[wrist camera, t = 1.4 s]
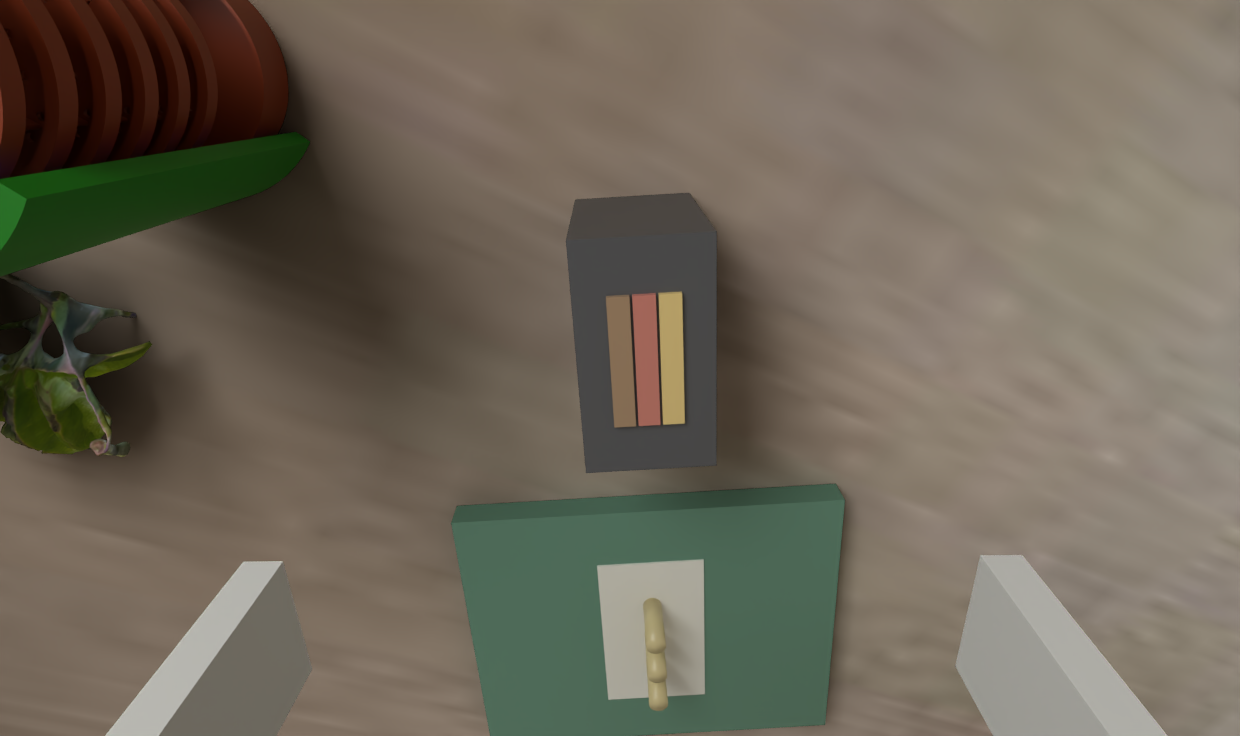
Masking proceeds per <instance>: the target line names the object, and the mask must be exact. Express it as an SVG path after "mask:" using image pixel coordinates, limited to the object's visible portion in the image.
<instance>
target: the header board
mask: <svg viewBox="0 0 1240 736" xmlns="http://www.w3.org/2000/svg"><path fill="white" fill-rule="evenodd" d="M844 504H845V499H844V498H843V496H842V494H841V492H840V490H839V489H838V487H837V485H836V484H823V485H806V486H789V487H772V488H755V489H738V490H721V491H704V492H686V493H669V494H652V495H635V496H618V497H601V498H584V499H567V500H550V501H532V502H515V503H498V504H481V505H464V506H457V507H456V510H455V513H454V516H453V519H452V522H451V525H452V530H453V535H454V541H455V546H456V552H457V557H458V563H459V568H460V574H461V579H462V585H463V590H464V595H465V601H466V606H467V612H468V617H469V623H470V628H471V634H472V639H473V645H474V650H475V655H476V661H477V666H478V672H479V677H480V683H481V688H482V694H483V699H484V705H485V710H486V715H487V721H488V726H489V732H490V736H640V735H658V734H675V733H692V732H710V731H727V730H744V729H762V728H779V727H796V726H814V725H825V719H826V708H827V697H828V685H829V674H830V663H831V652H832V640H833V629H834V618H835V606H836V595H837V584H838V572H839V561H840V550H841V538H842V527H843V516H844Z"/></svg>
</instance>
